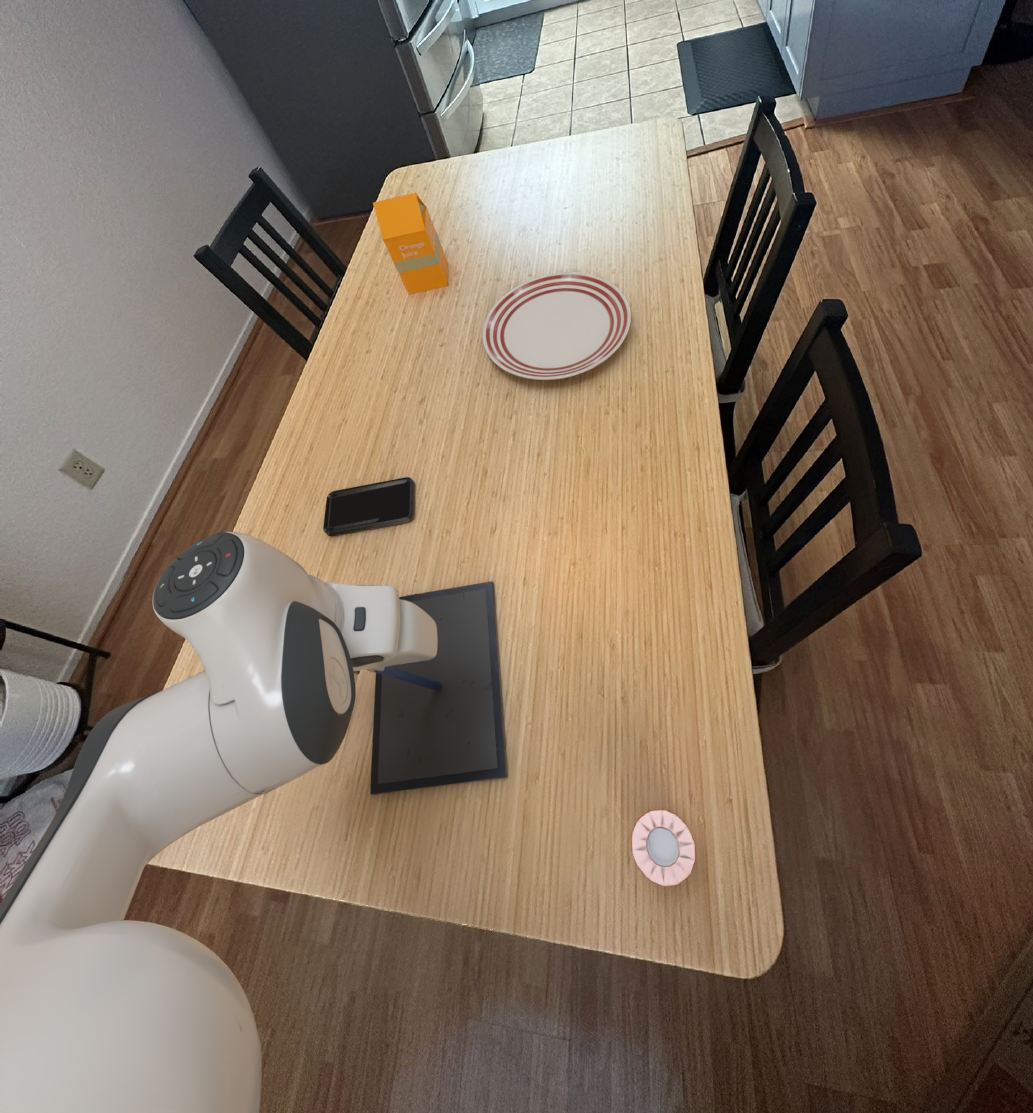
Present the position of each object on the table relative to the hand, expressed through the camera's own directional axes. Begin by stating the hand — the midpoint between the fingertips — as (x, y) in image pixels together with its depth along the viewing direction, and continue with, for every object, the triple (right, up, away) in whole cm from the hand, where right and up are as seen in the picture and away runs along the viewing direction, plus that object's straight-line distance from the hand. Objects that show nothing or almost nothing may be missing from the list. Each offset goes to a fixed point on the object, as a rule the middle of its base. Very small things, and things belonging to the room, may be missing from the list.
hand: (366, 665), depth 65 cm
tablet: (+6, -7, +12) cm, 15 cm away
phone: (-7, +13, +30) cm, 33 cm away
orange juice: (-2, +59, +61) cm, 84 cm away
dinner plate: (+24, +44, +44) cm, 67 cm away
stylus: (+3, -3, +4) cm, 5 cm away
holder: (+33, -18, -2) cm, 37 cm away
